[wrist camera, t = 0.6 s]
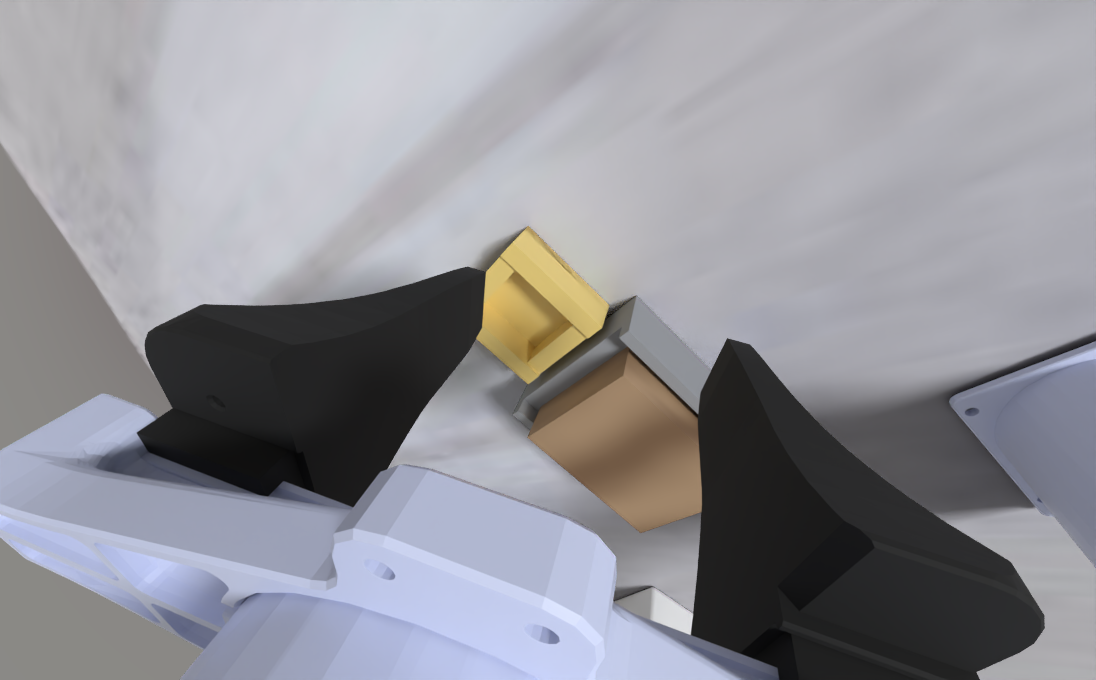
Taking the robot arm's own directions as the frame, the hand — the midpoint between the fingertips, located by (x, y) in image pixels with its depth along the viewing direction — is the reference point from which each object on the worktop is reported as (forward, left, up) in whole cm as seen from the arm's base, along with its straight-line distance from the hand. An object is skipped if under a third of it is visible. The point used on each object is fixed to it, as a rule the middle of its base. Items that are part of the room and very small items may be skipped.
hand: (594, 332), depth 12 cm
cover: (-8, +7, -7) cm, 13 cm away
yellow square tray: (+1, +7, -10) cm, 12 cm away
